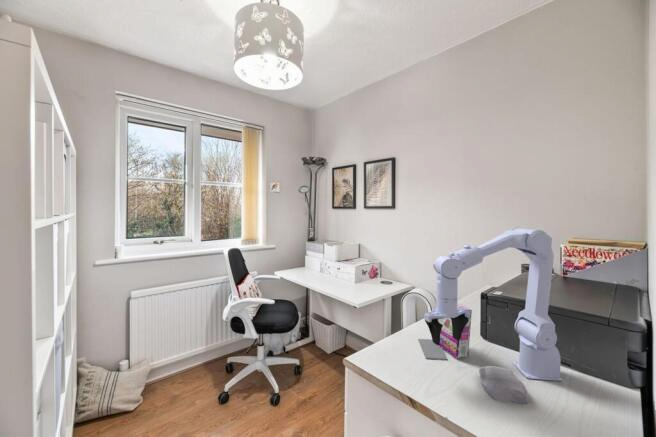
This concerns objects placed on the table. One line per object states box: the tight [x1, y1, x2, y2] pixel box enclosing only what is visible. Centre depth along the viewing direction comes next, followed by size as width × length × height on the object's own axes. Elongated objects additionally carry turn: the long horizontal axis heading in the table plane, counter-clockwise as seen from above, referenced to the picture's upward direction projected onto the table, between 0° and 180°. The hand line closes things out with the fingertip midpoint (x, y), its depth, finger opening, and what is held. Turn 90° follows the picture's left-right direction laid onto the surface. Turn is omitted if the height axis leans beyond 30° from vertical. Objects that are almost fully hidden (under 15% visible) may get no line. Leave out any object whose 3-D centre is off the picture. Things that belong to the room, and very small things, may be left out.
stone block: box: [478, 365, 529, 405], centre depth 77 cm, size 12×5×10 cm
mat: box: [417, 338, 449, 361], centre depth 98 cm, size 7×13×1 cm, turn 172°
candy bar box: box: [438, 302, 473, 359], centre depth 96 cm, size 11×5×16 cm, turn 17°
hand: (446, 341), depth 83 cm, fingers open, 7 cm apart
